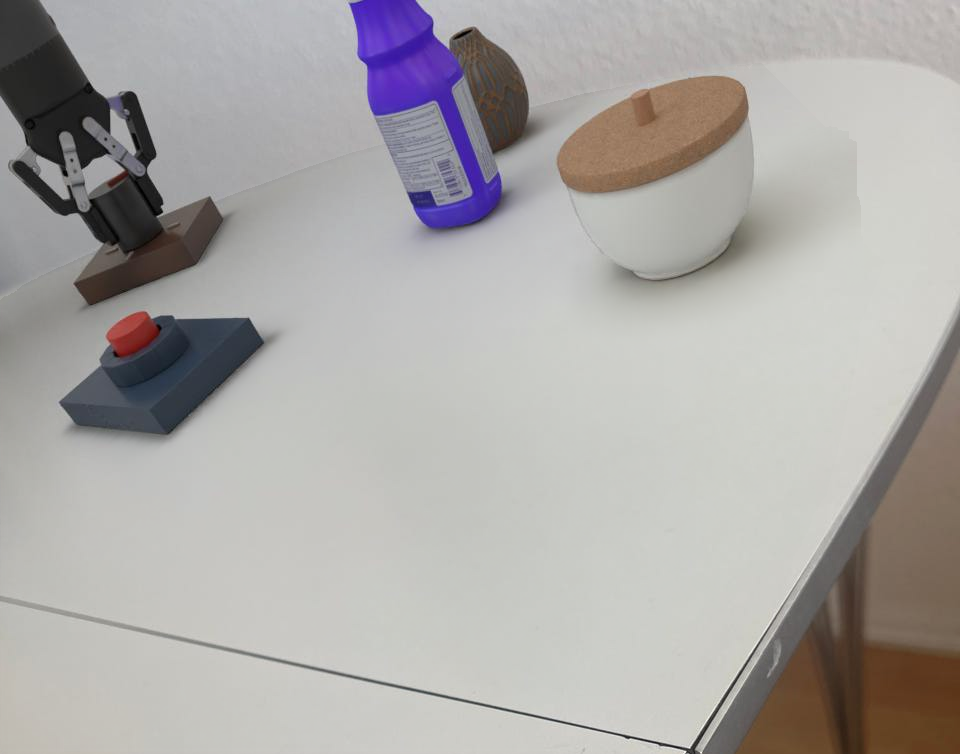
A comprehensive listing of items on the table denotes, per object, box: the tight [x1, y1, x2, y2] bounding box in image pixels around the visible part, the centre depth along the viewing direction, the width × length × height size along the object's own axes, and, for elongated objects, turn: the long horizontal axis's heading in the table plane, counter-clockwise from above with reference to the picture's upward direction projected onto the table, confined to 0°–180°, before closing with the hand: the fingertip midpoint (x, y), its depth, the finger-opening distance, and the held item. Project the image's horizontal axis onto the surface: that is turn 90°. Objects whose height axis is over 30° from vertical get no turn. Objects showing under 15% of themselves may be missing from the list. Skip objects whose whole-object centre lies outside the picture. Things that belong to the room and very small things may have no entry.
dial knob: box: [87, 169, 163, 252], centre depth 97 cm, size 5×5×6 cm
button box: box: [58, 314, 265, 435], centre depth 76 cm, size 13×11×4 cm
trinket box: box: [556, 75, 755, 281], centre depth 57 cm, size 11×11×9 cm
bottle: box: [347, 0, 503, 229], centre depth 72 cm, size 7×6×17 cm
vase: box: [448, 26, 530, 152], centre depth 83 cm, size 7×7×9 cm
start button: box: [105, 310, 160, 357], centre depth 74 cm, size 4×4×2 cm
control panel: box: [73, 195, 224, 306], centre depth 100 cm, size 13×10×3 cm
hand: (135, 228), depth 98 cm, fingers closed on dial knob, 5 cm apart
